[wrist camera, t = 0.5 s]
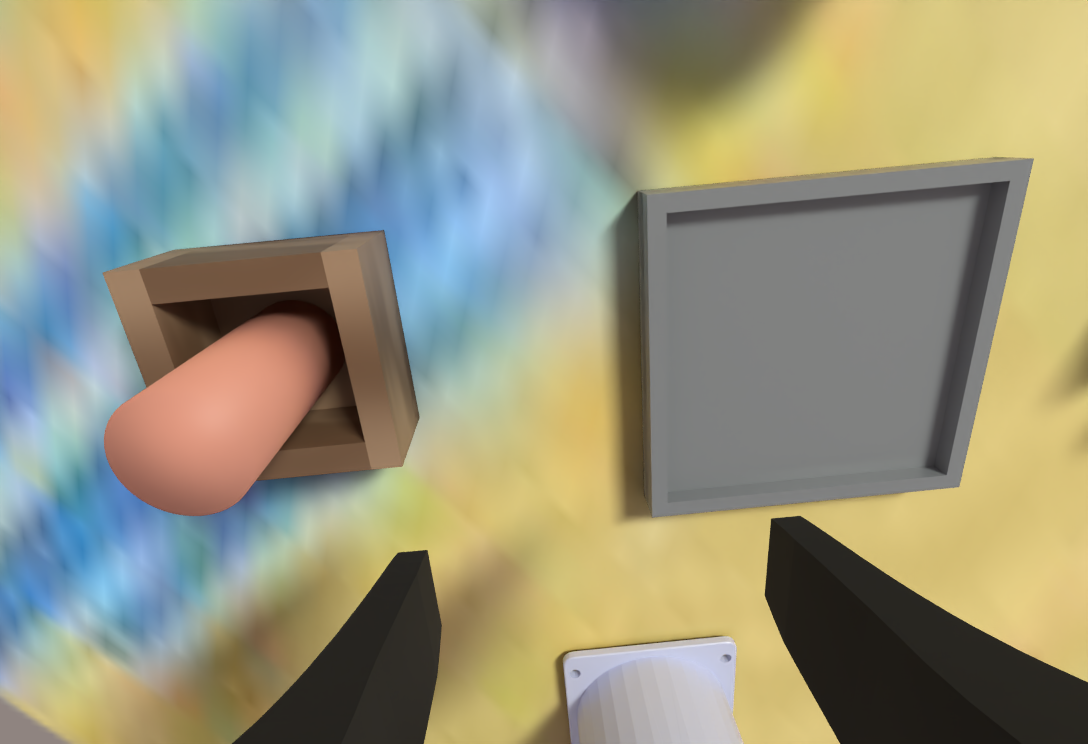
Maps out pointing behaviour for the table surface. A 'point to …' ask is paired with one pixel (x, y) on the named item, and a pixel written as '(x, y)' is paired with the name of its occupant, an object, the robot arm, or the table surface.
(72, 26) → the table surface
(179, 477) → the pink rounded capsule
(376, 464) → the holder
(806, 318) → the tray
